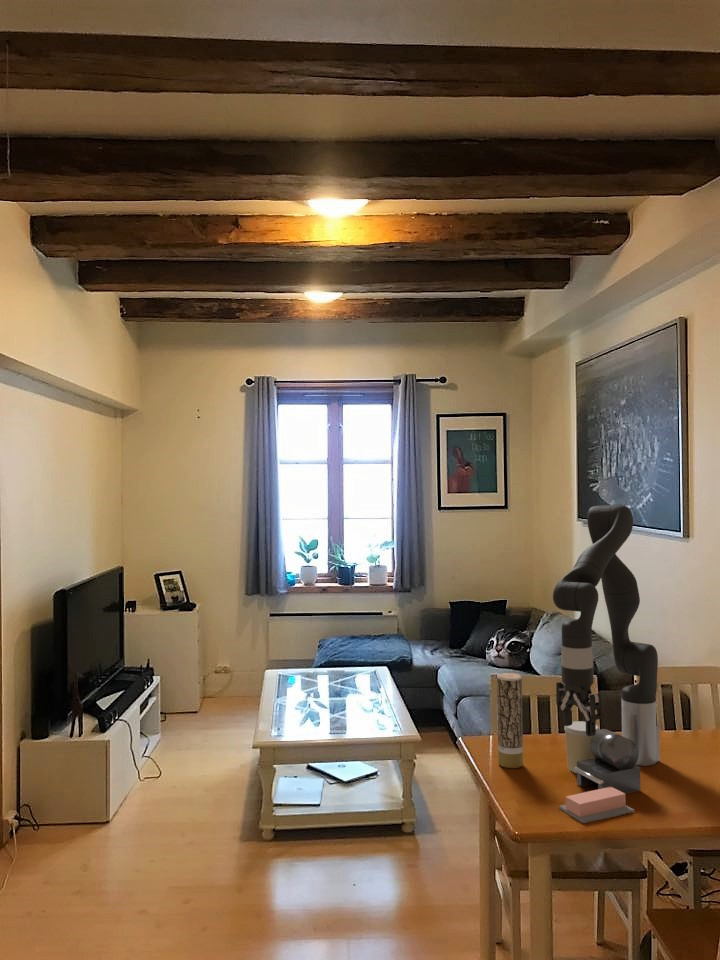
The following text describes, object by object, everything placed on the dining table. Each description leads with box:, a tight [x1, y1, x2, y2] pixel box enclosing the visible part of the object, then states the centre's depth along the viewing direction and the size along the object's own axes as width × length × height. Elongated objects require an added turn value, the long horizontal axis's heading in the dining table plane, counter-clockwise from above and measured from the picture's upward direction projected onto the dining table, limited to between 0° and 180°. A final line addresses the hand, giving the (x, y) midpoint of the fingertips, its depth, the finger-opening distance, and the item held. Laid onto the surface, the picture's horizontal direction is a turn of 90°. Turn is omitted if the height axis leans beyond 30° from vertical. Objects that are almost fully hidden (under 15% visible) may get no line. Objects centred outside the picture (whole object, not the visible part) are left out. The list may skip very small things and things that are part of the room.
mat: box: [558, 804, 635, 824], centre depth 187 cm, size 15×9×1 cm, turn 112°
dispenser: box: [574, 728, 641, 795], centre depth 201 cm, size 13×10×14 cm
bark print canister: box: [496, 672, 524, 769], centre depth 218 cm, size 7×7×25 cm
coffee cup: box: [564, 720, 600, 774], centre depth 214 cm, size 9×9×12 cm
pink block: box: [565, 787, 627, 817], centre depth 187 cm, size 14×5×3 cm, turn 114°
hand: (578, 730), depth 189 cm, fingers open, 8 cm apart
